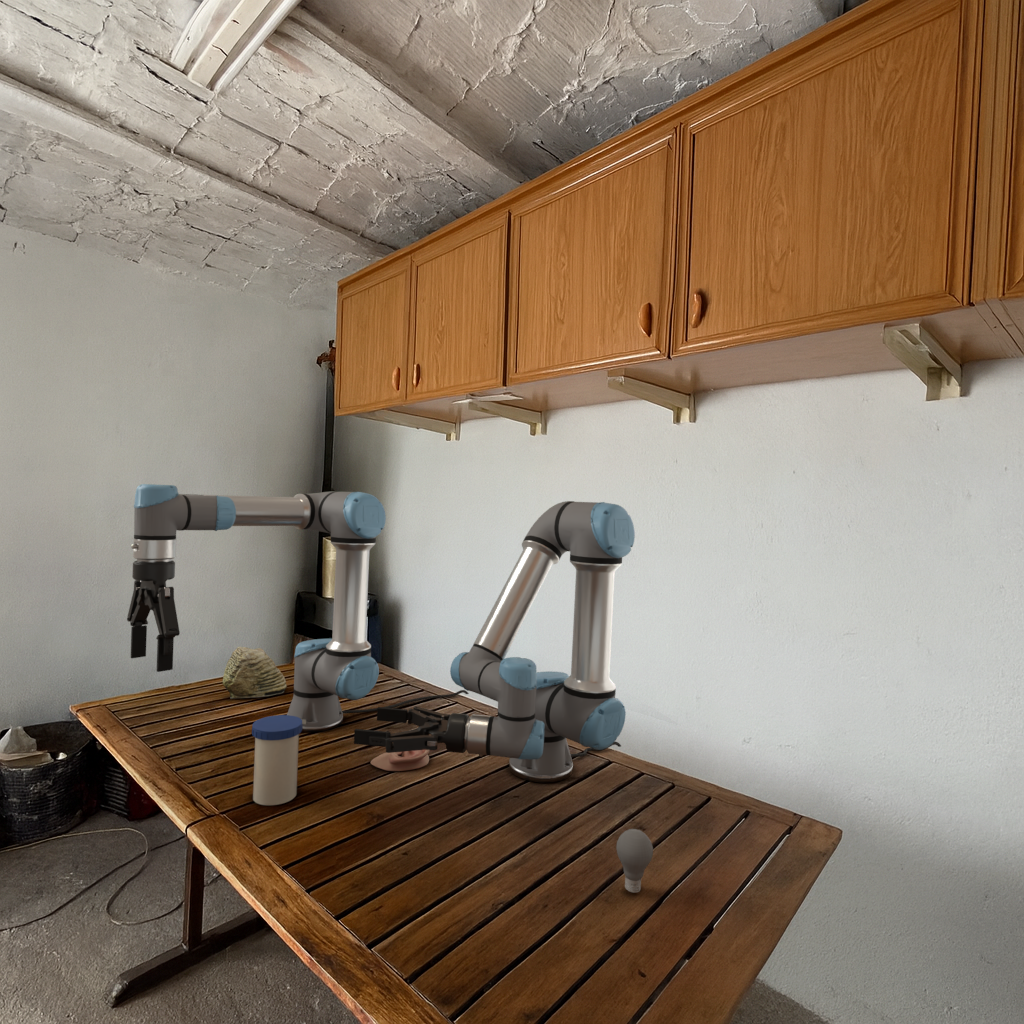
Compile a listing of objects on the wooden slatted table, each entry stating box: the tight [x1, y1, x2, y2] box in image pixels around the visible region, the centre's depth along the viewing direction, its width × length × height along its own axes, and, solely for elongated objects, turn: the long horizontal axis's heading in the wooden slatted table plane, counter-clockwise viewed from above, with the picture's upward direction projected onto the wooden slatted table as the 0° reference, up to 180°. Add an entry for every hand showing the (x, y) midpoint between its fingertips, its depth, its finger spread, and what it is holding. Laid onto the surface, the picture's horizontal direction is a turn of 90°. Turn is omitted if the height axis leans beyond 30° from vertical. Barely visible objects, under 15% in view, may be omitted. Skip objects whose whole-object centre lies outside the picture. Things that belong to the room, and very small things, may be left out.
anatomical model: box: [370, 750, 431, 772], centre depth 153 cm, size 13×4×12 cm
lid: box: [251, 714, 303, 740], centre depth 133 cm, size 10×10×2 cm
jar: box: [252, 734, 300, 806], centre depth 133 cm, size 9×9×15 cm
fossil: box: [222, 646, 288, 699], centre depth 198 cm, size 9×18×15 cm, turn 132°
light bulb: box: [615, 828, 654, 894], centre depth 106 cm, size 6×6×10 cm
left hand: (150, 663), depth 129 cm, fingers open, 13 cm apart
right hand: (366, 724), depth 131 cm, fingers open, 13 cm apart
